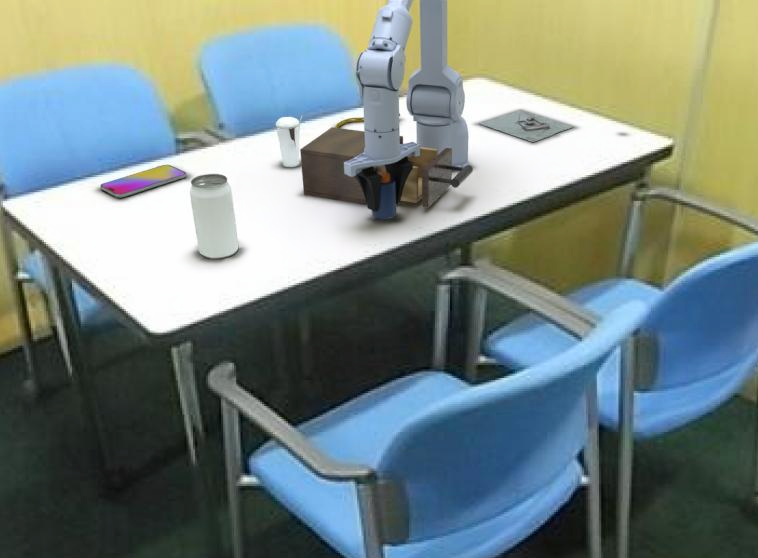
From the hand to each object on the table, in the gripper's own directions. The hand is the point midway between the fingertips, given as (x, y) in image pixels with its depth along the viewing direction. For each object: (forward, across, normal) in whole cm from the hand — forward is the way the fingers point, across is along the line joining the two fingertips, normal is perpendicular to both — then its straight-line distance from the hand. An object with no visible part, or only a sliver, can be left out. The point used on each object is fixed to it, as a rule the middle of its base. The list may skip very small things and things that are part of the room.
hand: (384, 205), depth 162 cm
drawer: (+2, -11, -4) cm, 11 cm away
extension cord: (+3, -27, -39) cm, 48 cm away
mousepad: (+3, -54, -13) cm, 56 cm away
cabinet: (+2, -5, -15) cm, 16 cm away
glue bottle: (+1, 0, 0) cm, 1 cm away
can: (+3, +28, -8) cm, 29 cm away
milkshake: (+3, -3, -32) cm, 32 cm away
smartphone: (+3, +24, -43) cm, 49 cm away
